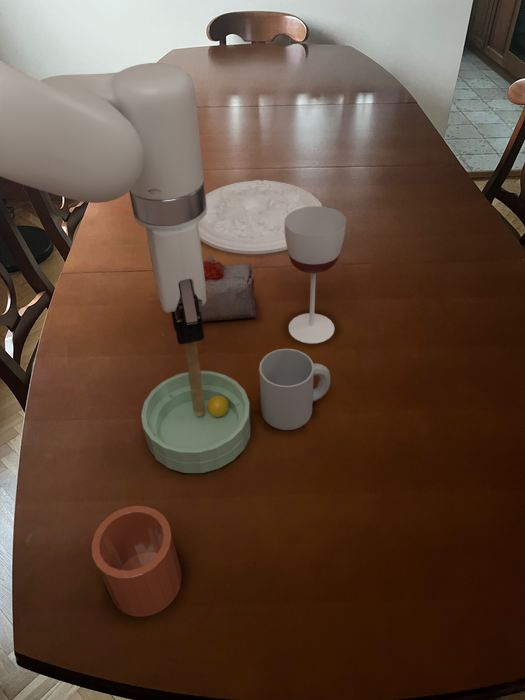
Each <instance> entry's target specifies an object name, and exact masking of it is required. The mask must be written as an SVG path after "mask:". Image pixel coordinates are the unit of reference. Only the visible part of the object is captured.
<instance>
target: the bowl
mask: <svg viewBox="0 0 525 700" xmlns="http://www.w3.org/2000/svg"><path fill="white" fill-rule="evenodd" d="M200 372H201V381H202V389H203V398H204V406H205V413H204V414H203V415H202V416H196V415H195V414H194V412H193V405H192V398H191V390H190V383H189V376H188V371H187V372H182V373H177V374H176V375H174V376H172V377H169V378H167V379H165V380H164V381H162V382H160V383H159V384H158V385H156V387H155V388H153V389H151V391H150V393H149V394H148V396H147V397H146V398H145V400H144V402H143V405H142V410H141V414H140V416H141V425H142V429H143V432H144V436H145V439H146V443H147V448H148V450H149V451H150V453H151V454H152V456H153V457H154V459H155V460H156V461H157V462H159V463H160V464H161V465H163V466H164V467H166V468H167V469H168V470H169V469H170V470H173V471H177V472H179V473H182V474H203V473H208V472H211V471H215V470H219V469H220V468H222V467H225V466H226V465H228V464H230V463H231V462H233V461H234V460H235V459H236V458H237V457H238V456H240V455H241V453H242V452H244V450H245V448H246V447H247V445H248V443H249V440H250V439H251V432H252V431H251V430H252V421H251V420H252V418H251V403H250V400H249V398H248V395H247V391H246V390H245V389H244V388H243V387H242V386H241V385H240V384H239V383H238V381H237V380H235V379H234V378H232V377H230V376H227V375H226V374H224V373H221V372H217V371H211V370H200ZM217 395H219V396H223V397H224V398H226V400H227V401H228V404H229V408H228V411H227V413H226V414H225V415H223V416H221V417H214V416H212V415H211V414H210V413H209V412H208V409H207V403H208V401H209V399H210V398H212V397H213V396H217Z"/></svg>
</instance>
